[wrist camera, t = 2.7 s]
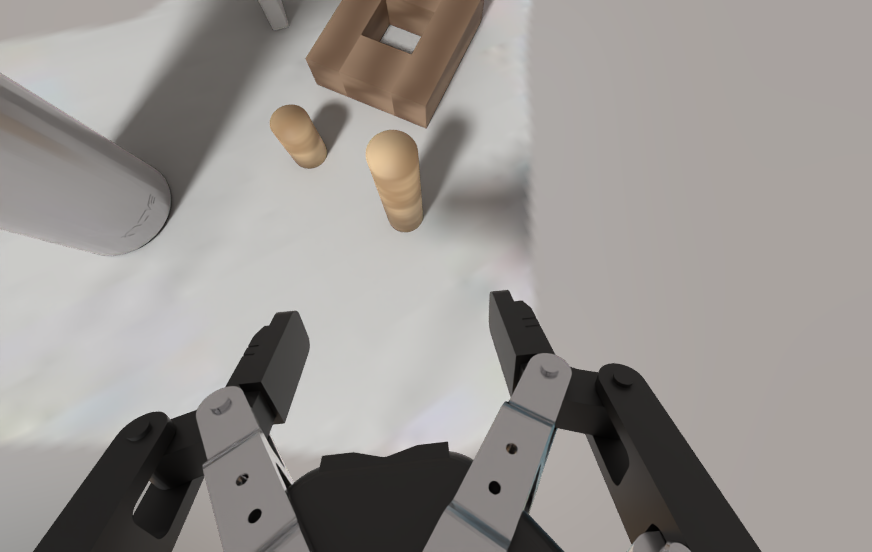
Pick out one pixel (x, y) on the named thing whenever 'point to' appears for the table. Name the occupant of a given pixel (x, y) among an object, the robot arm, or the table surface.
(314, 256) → the table surface
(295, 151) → the short pin
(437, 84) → the hole plate
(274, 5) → the lighter
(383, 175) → the long pin
